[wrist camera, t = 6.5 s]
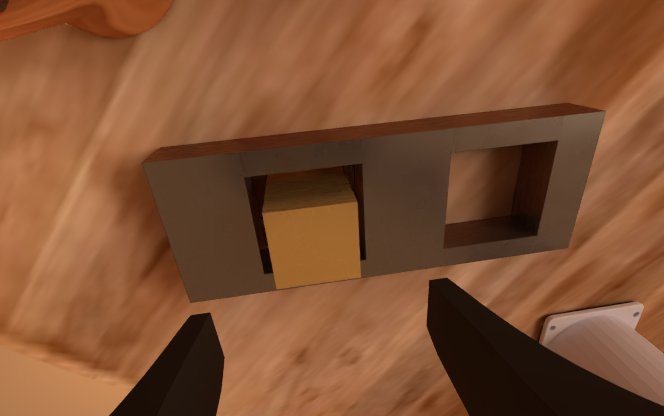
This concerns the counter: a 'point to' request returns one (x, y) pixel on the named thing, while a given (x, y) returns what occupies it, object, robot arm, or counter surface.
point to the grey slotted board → (375, 193)
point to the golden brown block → (311, 227)
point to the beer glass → (81, 16)
